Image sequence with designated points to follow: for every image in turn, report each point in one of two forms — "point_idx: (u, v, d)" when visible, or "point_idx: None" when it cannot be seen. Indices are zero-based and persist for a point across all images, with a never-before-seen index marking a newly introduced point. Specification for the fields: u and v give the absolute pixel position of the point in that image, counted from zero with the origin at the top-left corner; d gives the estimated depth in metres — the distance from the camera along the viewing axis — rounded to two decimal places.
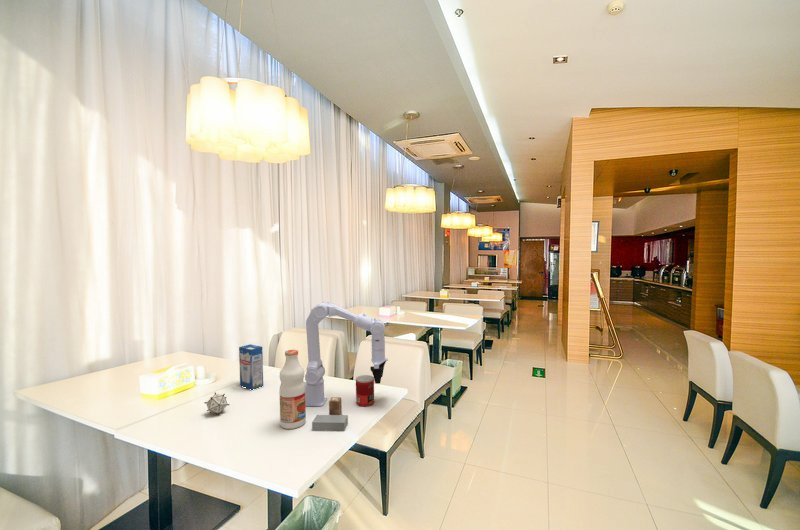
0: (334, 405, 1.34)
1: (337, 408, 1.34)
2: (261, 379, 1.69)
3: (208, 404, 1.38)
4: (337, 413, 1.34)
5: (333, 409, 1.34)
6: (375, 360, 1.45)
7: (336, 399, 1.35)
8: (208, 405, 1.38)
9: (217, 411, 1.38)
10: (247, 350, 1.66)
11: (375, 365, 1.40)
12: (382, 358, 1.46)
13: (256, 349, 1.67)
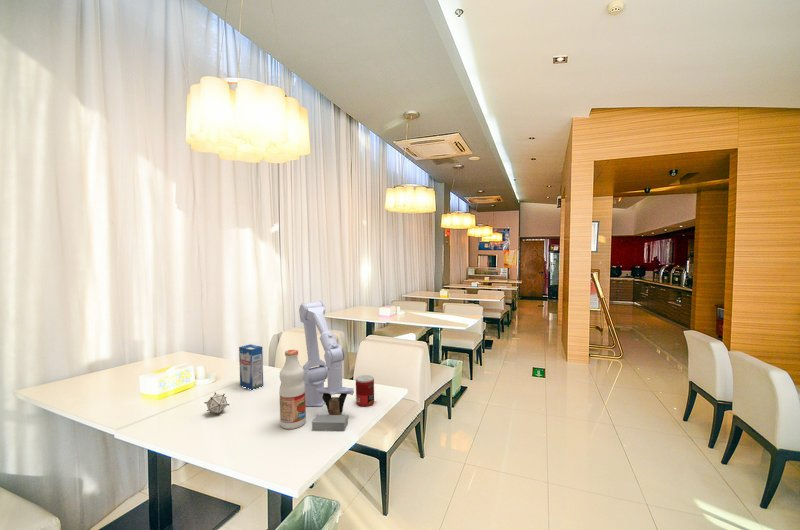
0: (334, 405, 1.34)
1: (337, 408, 1.34)
2: (261, 379, 1.69)
3: (208, 404, 1.38)
4: (337, 413, 1.34)
5: (333, 409, 1.34)
6: None
7: (336, 399, 1.35)
8: (208, 405, 1.38)
9: (217, 411, 1.38)
10: (247, 350, 1.66)
11: None
12: (328, 388, 1.34)
13: (256, 349, 1.67)
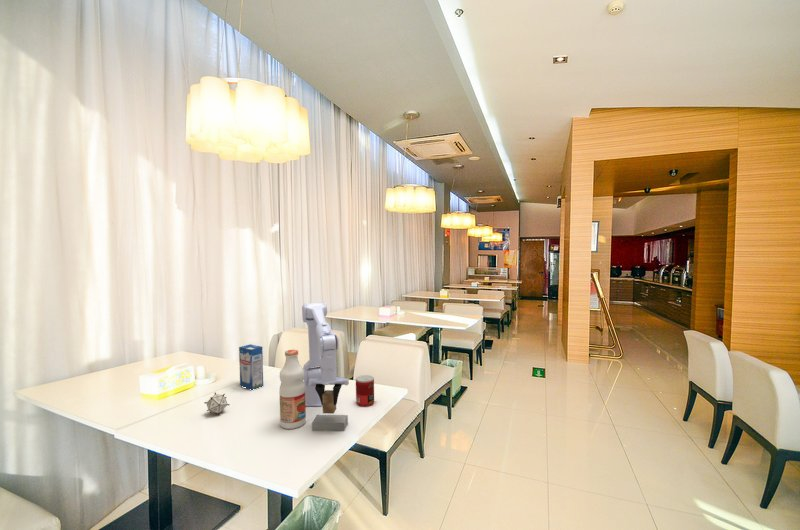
0: (328, 398, 1.25)
1: (331, 402, 1.25)
2: (261, 379, 1.69)
3: (208, 404, 1.38)
4: (331, 407, 1.25)
5: (327, 403, 1.25)
6: None
7: (330, 392, 1.26)
8: (208, 405, 1.38)
9: (217, 411, 1.38)
10: (247, 350, 1.66)
11: None
12: (321, 379, 1.25)
13: (256, 349, 1.67)
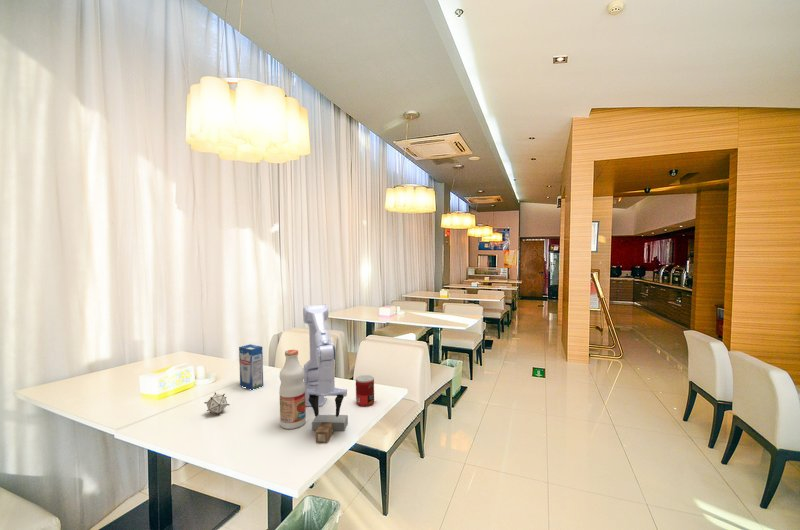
0: None
1: None
2: (261, 379, 1.69)
3: (208, 404, 1.38)
4: None
5: None
6: None
7: (323, 439, 1.16)
8: (208, 405, 1.38)
9: (217, 411, 1.38)
10: (247, 350, 1.66)
11: None
12: (319, 390, 1.22)
13: (256, 349, 1.67)
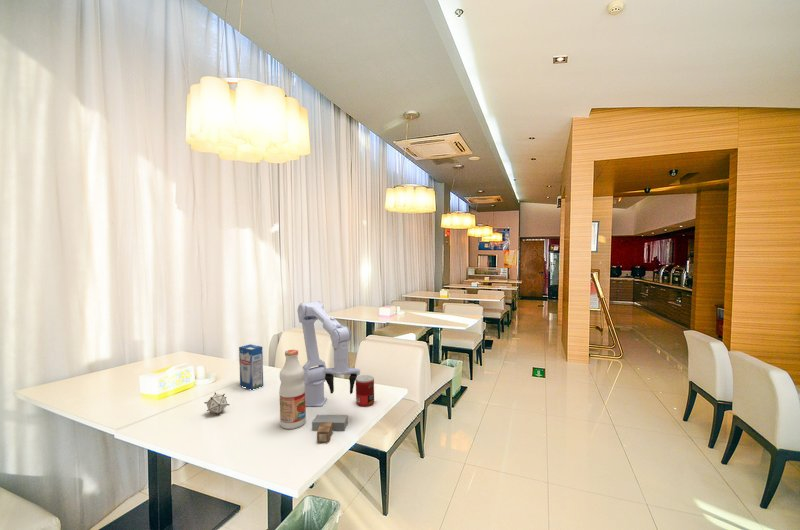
0: None
1: None
2: (261, 379, 1.69)
3: (208, 404, 1.38)
4: None
5: None
6: None
7: (324, 438, 1.17)
8: (208, 405, 1.38)
9: (217, 411, 1.38)
10: (247, 350, 1.66)
11: None
12: (335, 369, 1.32)
13: (256, 349, 1.67)
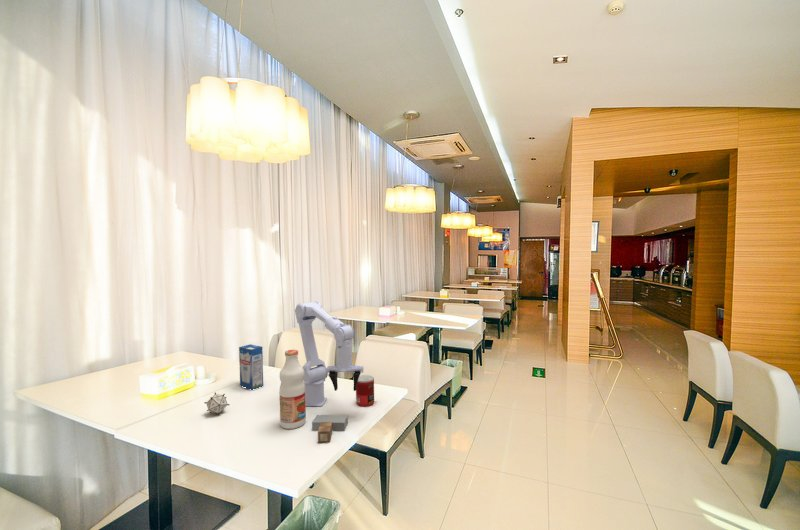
0: None
1: None
2: (261, 379, 1.69)
3: (208, 404, 1.38)
4: None
5: None
6: None
7: (325, 438, 1.17)
8: (208, 405, 1.38)
9: (217, 411, 1.38)
10: (247, 350, 1.66)
11: None
12: (338, 366, 1.34)
13: (256, 349, 1.67)
